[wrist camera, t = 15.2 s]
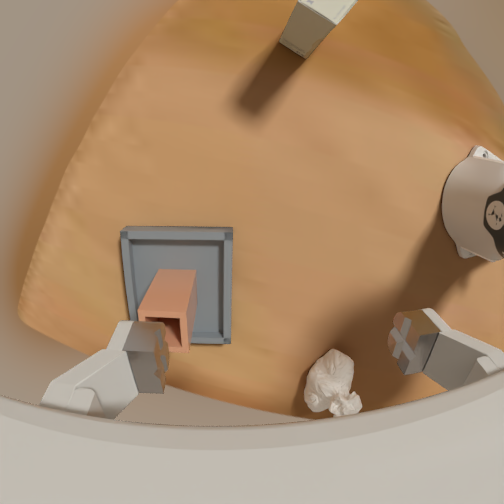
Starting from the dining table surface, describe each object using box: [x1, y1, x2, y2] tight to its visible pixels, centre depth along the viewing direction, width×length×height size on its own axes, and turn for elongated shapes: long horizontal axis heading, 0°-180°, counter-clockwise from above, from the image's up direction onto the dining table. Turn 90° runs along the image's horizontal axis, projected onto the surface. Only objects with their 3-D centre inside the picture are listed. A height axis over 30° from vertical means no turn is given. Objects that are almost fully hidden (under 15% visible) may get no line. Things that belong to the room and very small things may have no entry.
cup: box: [138, 269, 197, 353], centre depth 35 cm, size 5×5×11 cm
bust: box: [304, 349, 362, 417], centre depth 44 cm, size 12×8×11 cm
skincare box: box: [279, 0, 358, 59], centre depth 26 cm, size 6×4×12 cm
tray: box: [120, 226, 233, 344], centre depth 40 cm, size 14×16×2 cm
